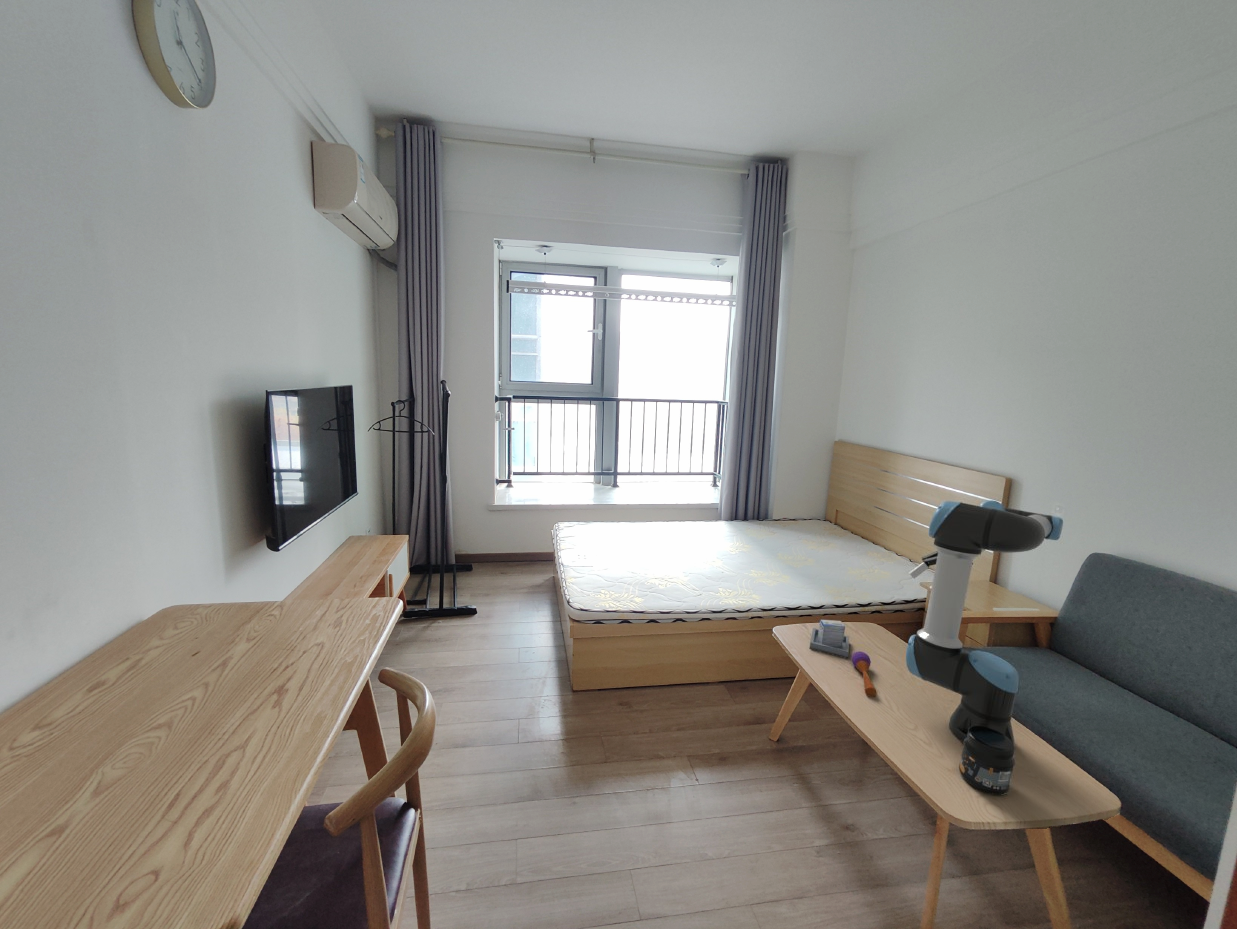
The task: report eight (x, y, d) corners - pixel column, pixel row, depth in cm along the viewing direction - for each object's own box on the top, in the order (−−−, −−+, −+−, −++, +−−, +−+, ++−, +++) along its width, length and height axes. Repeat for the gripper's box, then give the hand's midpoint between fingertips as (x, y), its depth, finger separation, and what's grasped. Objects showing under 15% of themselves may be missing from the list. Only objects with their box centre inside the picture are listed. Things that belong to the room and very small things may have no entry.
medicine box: (838, 641, 195) (840, 620, 193) (842, 648, 190) (845, 626, 189) (816, 640, 195) (819, 619, 194) (821, 646, 191) (824, 624, 189)
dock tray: (847, 658, 184) (848, 651, 184) (809, 648, 190) (810, 642, 189) (848, 642, 196) (849, 636, 196) (812, 633, 201) (813, 627, 201)
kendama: (860, 683, 162) (849, 647, 181) (861, 699, 164) (850, 663, 182) (880, 683, 161) (868, 648, 180) (881, 700, 162) (869, 663, 181)
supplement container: (962, 759, 136) (970, 718, 134) (1011, 781, 129) (1020, 739, 127) (953, 779, 129) (961, 736, 127) (1005, 805, 122) (1014, 760, 120)
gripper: (1001, 566, 171) (948, 605, 174) (955, 542, 196) (909, 577, 198) (988, 549, 170) (935, 589, 173) (943, 528, 195) (897, 563, 198)
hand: (921, 582), depth 186 cm, fingers open, 13 cm apart
